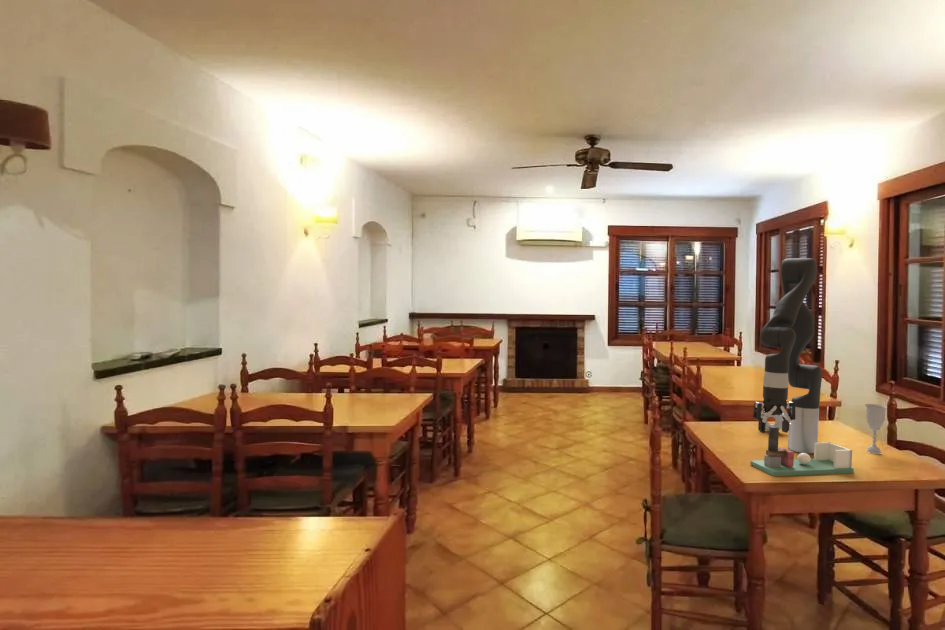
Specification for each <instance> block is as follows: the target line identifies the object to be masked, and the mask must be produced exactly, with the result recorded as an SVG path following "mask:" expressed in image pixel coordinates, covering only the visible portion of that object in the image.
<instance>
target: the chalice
mask: <svg viewBox="0 0 945 630" xmlns="http://www.w3.org/2000/svg"><path fill="white" fill-rule="evenodd" d="M864 406H865V407H866V409H865V412H866V414H865V418H866V422H867V424H868V426H869V428H870V430H872V434H871V436H872V439H871V441H872V443H871V445H869V446H868V447H866V450H865V452H866V451H867V452H866V453H868V452H870V453H869V454H871V453H875V454H874V455H881V454H880V453H882V451H881V449H880V447H879V446H877V444H876V443H877V441H878V440H877V436H878V434H877V431H880V429H881V428H882V426H883V425H884V423H885V420H886V410H887V409H888V406H886V405H882V404H877V403H876V404H875V403H865V404H864Z"/></svg>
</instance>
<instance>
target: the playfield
mask: <svg viewBox="0 0 945 630" xmlns="http://www.w3.org/2000/svg"><path fill="white" fill-rule="evenodd" d="M763 458H764V460H763V459H762V460H761V459H759V460H757V459H756V460H750V462H749V464H751V465H750V466H752V465H753V466H752V467H754V468H756V469H758V470H760V471H762V472H764V473H766V474H768V475H770V476H773V477H785V476H786V477H787V476H788V477H789V476H807V475H809V476H810V475H814V476H815V475H833V474H834V475H836V474H854V473H855V468H853V467H852V468H834V462H833V461H831V460H814V457H813V458H811V457H810V458H811V461H810V463H809V464H807V465H803V464H801V463H799V461H798V459H797V458H794V463H793V467H788V466H785V465H783V464H781V457H780V456H768V455H766V454H764V457H763Z"/></svg>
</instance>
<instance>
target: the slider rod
mask: <svg viewBox="0 0 945 630" xmlns="http://www.w3.org/2000/svg"><path fill="white" fill-rule="evenodd" d="M779 431H780V430H779V427H775V426H769V431H768V439H767V441H768V443H767V449H766V450H765V455H768V456H780V457H781V464H783V465H785V466H788V467H793V463H794V459H795V457H794V456H795V451H792V450H791V449H788V448H785V447H779V438H780V437H779V435H780V434H779V433H780V432H779Z"/></svg>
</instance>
